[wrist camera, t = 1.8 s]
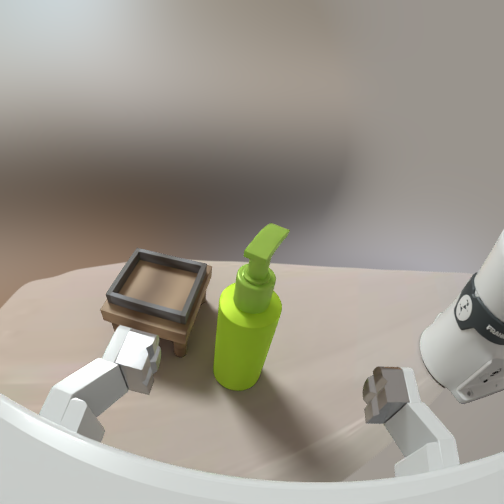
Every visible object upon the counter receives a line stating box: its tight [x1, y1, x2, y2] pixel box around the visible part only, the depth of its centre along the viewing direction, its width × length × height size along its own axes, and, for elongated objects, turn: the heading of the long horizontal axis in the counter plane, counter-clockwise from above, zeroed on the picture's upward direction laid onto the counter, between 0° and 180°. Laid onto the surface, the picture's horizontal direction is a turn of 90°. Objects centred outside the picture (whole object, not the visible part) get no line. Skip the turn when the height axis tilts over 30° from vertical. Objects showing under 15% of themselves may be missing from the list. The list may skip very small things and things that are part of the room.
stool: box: [100, 248, 212, 357], centre depth 39 cm, size 11×12×8 cm
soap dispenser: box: [213, 223, 290, 391], centre depth 31 cm, size 6×7×20 cm
